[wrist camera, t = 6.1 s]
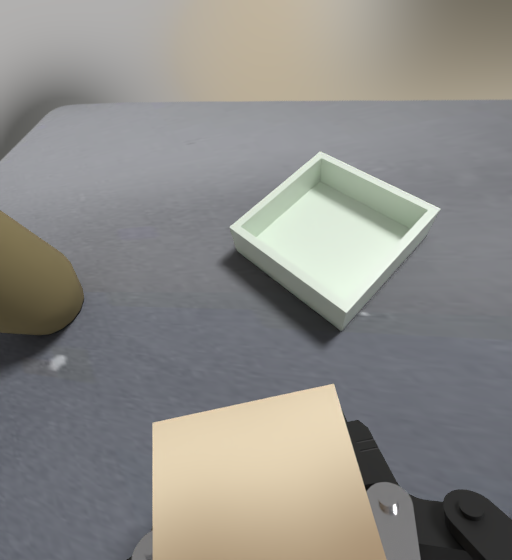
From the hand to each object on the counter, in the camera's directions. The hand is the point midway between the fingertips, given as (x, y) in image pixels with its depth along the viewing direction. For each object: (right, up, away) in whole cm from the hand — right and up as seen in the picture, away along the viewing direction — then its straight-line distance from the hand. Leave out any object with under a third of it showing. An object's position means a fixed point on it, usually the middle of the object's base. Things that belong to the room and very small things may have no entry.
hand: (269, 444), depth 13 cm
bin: (+6, +10, +16) cm, 20 cm away
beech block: (+1, -4, +3) cm, 6 cm away
